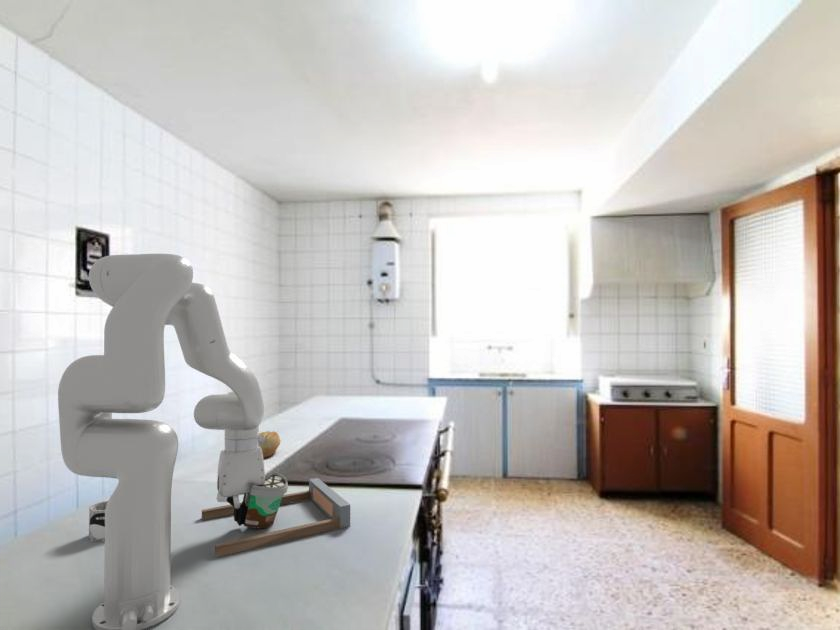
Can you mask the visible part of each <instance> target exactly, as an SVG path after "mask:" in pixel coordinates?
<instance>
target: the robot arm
mask: <svg viewBox="0 0 840 630" xmlns="http://www.w3.org/2000/svg"><path fill="white" fill-rule="evenodd" d="M193 270H194V269H193V266H192V264H191V262H190V261H189V260H188V259H187V258H185V257H183V256H181V255H178V254H172V253H140V254H139V253H137V254H136V253H135V254H134V253H133V254H111V255H105V256H103V257H101V258H99V259H97V260H96V261H95V262H94V263H93V264H91V267H90V269H89V272H88V281H89V286H90V287H91V290H92V291H93V294H95V296H96V297H97V298H98V299H100V300H101V301H102V302H103V303H105V304H106V305H109V306H110V307H112V308H111V310H110V311H109V313H108V315H107V317H106V320H105V324H104V331H103V354H101V355H100V354H95V355H93V354H92V355H86V356H82V357H80V358H77V359H75V360H74V361H73V362H71V363H70V364H69V365H68V366H67V367H66V369H64V372H63V373H62V376H61V379H60V381H59V383H58V388H57V389H58V390H57V391H58V392H57V404H58V405H57V406H58V422H59V435H60V436H59V437H60V439H59V440H60V448H61V449H60V451H61V456H62V459H63V463H64V465H65V466H66V468H67V469H68V470H69V471H70V472H71V473H74V474H75V475H77V476H83V477H90V478H93V477H94V478H109V479H110V478H111V479H116V480H118V483H117V485H116V487H115V489H114V491H112V494H111V495H110V496H109V499H108V500H107V501H108V503H107V506H106V510H105V541H104V566H103V567H104V572H103V573H104V579H103V581H104V582H103V584H104V585H103V587H104V588H103V591H104V592H103V594H104V595H103V602H102V603H100V605H98V607H96V608H95V610H94V611H93V614H92V618H91V620H92V621H91V622H92V627H93V628H94V630H146V629H148V628H151V627H153V626H155V625H157V624H159V623H161V622H163V621H165V620H166V619H168V618H169V617H170V616H171V615H173V613H175V612H176V611H177V609H178V608H179V606H180V603H181V592H180V591H179V589H178V588H176V587H174V586H173V585H171V561H172V560H171V547H172V545H171V544H172V543H171V540H172V539H171V537H172V534H171V533H172V528H171V527H172V487H173V477H174V471H175V465H176V461H177V457H178V452H179V437H178V435H177V432H176V431H175V430H174V428H172V426H170V425H169V424H167V423H164V422H162V421H159V420H155V419H154V420H153V419H138V418H137V419H135V418H134V419H133V418H113V414H143V413H148V412H152V411H153V410H155V409H157V408H158V407H160V405H161V404H162V403H163V401H164V398H165V393H166V368H165V367H166V366H165V363H166V362H165V345H164V344H165V342H164V341H165V339H164V338H165V337H164V336H165V334H164V333H165V332H164V331H165V326H173V328H174V330H175V333H176V336H177V339H178V343H179V346H180V349H181V352H182V355H183V359H184V361H185V363H186V364H187V366H188V367H190V368H192V369H193V370H195V371H198V372H199V373H201V374H204V375H206V376H209V377H210V378H213V379H215V380H217V381H219V382H220V383H222V384H225V386H227V387H228V388H229V389H230V390H231V391H230V392H228V393H225V394H224V393H223V394H209V395H207V396H204V397H202V398H201V399H199V401H198V402H197V403H196V405H195V407H194V410H193V419H194V421H195V423H196V424H197V425H198V426H199V427H201V428H202V429H205V430H212V431H213V430H216V431H224V449H222V450H221V451H220V453H219V458H218V464H217V465H218V467H217V475H216V477H217V478H216V489H217V496H216V501H217V502H218V503H229V504H228V505H232V506H233V507H234V514H233V520H234V522H236V523H237V525H238V526H239V527H240V526H242V525H243V526H244V524H245V520H246V515H247V510H248V506H249V501H250V497H251V495H250V493H251V490H252V488H253V485H256V486H258V485H264V484H265V479H266V473H265V472H266V471H265V462H264V461H265V460H264V458H263V454H262V449H261V447H260V443H262V442H265V437H264V436H263V437H261V436H259V433H260V432H259V431H260V430H259V429H260V425H261V423H262V422H263V420H264V416H265V415H264V414H265V409H264V407H265V406H264V400H263V395H262V392H261V387H260V384H259V381H258V379H257V378H256V376H255V374H254V373H253V371H252V370H251V369H250V368H249V367H248V365H247V364H245V363H244V361H243V360H241V359H240V358H239V357H238V356H237V355H236V354H235V353H233V352H232V351H231V350H230V349H229V346H228V343H227V340H226V335H225V332H224V328H223V324H222V320H221V316H220V313H219V309H218V305H217V302H216V298H215V295H214V293H213V291H212V290H211V289H210V287H208V286H207V285H204V284H202V283H197V282H193V279H194V271H193ZM242 495H243V496H242ZM239 496H242V502H241V501H240V497H239ZM240 503H241V504H240Z"/></svg>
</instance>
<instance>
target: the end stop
mask: <svg viewBox="0 0 840 630" xmlns="http://www.w3.org/2000/svg"><path fill="white" fill-rule="evenodd" d="M308 490H309V491H310V492H311V499H310V501H312V502H313V503H314V505H316V506H317V507H318V508H319V509H320V510H321V511H322V512H323V513H324V515H326V516H327V517H328V518H329V519H333V518H337V517H338V518H339V519H340V528H339V529H343V528H347V527H350V526H351V504H350V503H349V502H348V501H347V500H346V499H344V498H343V497H342V496H340V495H339V494H338V493H337V492H336V491H334V490H333V489H332V488H331V487H330V486H328V485H327V483H326V482H323V481H322V480H321V479H320V478H319V477H315V478H308Z"/></svg>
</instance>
